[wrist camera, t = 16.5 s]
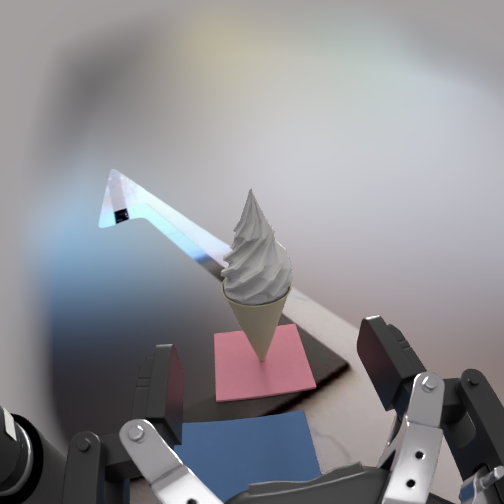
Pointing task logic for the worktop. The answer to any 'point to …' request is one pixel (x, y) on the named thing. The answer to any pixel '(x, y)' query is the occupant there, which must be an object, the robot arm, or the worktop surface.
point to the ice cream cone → (257, 277)
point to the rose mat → (260, 366)
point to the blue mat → (248, 452)
